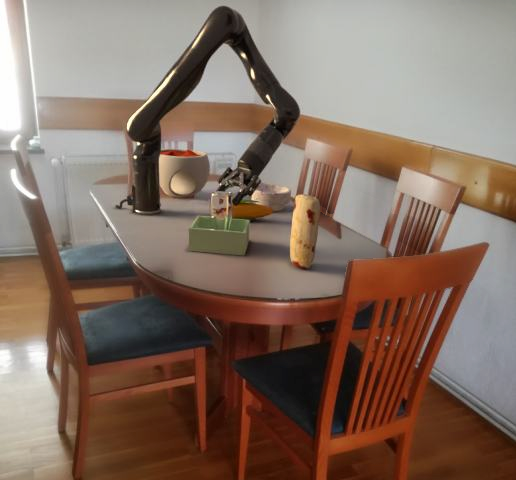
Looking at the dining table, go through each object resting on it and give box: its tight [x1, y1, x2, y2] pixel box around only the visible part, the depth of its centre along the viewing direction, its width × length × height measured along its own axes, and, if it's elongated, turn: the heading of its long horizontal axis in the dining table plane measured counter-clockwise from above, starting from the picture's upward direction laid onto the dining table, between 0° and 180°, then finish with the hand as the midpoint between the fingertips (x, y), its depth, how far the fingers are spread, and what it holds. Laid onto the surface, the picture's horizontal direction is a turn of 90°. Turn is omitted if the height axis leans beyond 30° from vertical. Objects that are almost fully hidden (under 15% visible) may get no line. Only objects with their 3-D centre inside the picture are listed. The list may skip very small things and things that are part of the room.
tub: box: [188, 215, 251, 256], centre depth 159 cm, size 17×15×7 cm
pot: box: [159, 148, 211, 199], centre depth 212 cm, size 24×24×18 cm
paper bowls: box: [251, 184, 292, 212], centre depth 205 cm, size 15×15×8 cm
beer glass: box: [209, 190, 234, 231], centre depth 157 cm, size 7×7×15 cm
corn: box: [232, 199, 274, 222], centre depth 187 cm, size 7×8×20 cm
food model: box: [289, 193, 321, 270], centre depth 144 cm, size 10×7×20 cm
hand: (224, 200), depth 155 cm, fingers open, 8 cm apart
